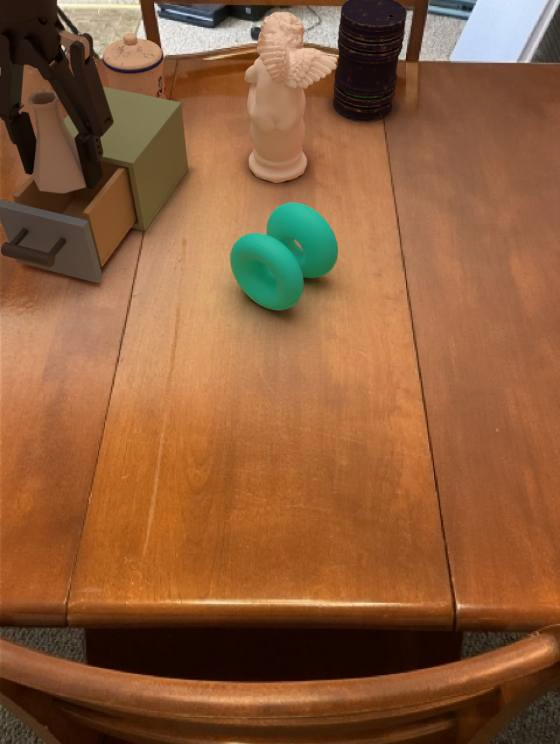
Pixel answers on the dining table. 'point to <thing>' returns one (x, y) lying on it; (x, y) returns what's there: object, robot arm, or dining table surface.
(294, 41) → the cherub figurine
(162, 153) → the cabinet
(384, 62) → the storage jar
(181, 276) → the dining table surface
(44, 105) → the flask
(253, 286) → the green rounded spool
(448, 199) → the dining table surface
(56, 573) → the dining table surface
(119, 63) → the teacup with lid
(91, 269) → the drawer
